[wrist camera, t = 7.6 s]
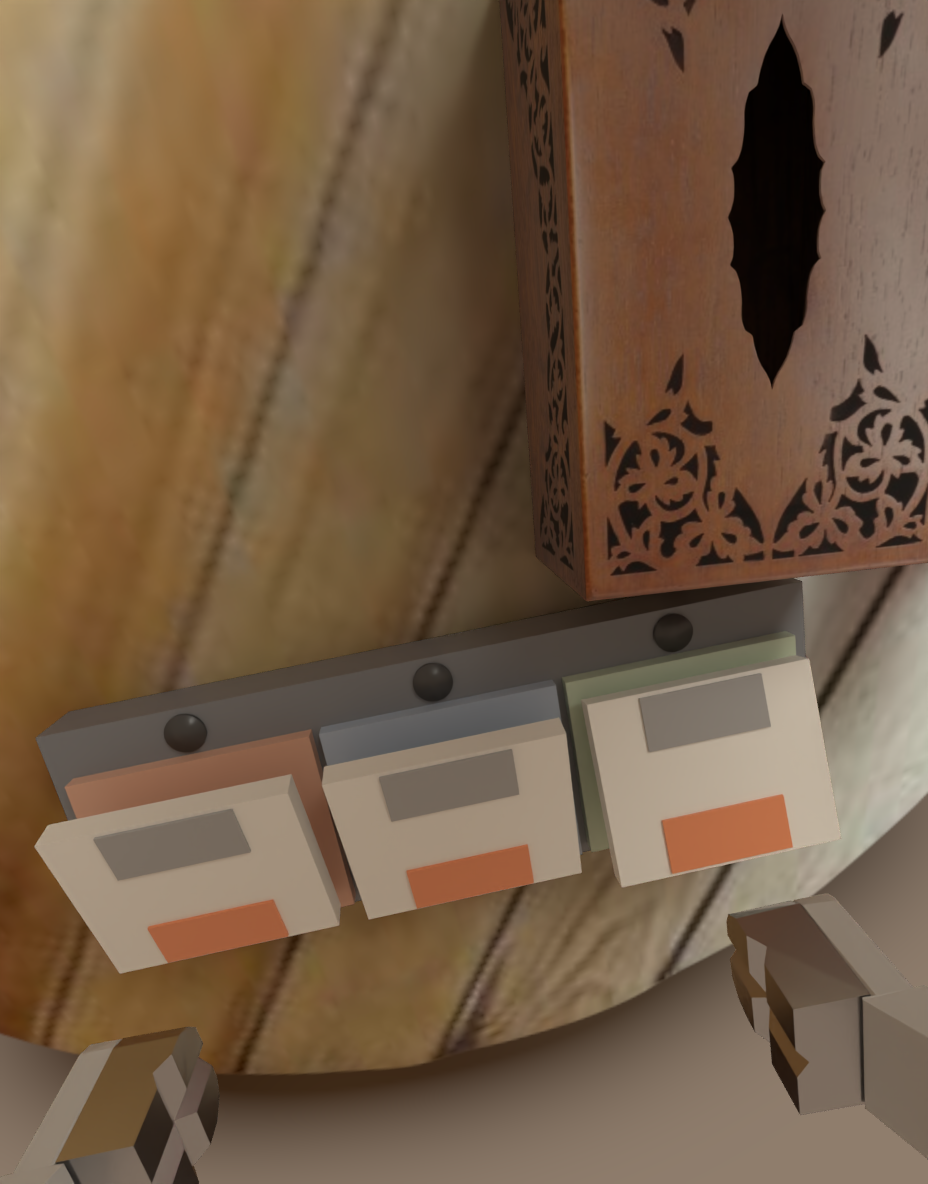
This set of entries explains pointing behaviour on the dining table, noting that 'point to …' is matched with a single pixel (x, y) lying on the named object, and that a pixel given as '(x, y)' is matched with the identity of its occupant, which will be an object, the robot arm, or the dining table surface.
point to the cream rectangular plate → (457, 817)
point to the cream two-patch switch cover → (711, 769)
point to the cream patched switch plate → (194, 873)
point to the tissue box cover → (721, 286)
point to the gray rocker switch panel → (413, 704)
